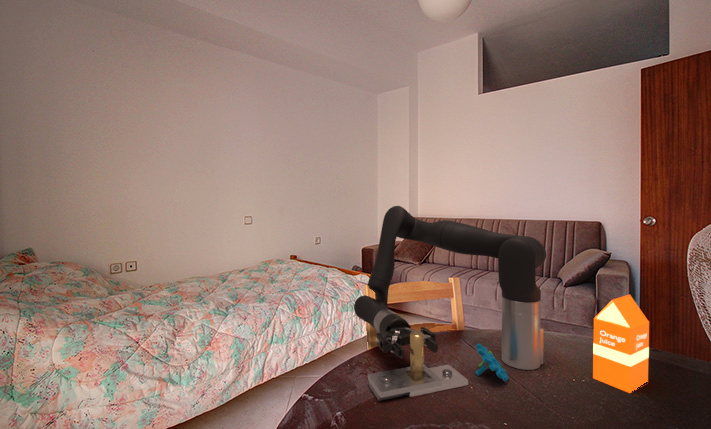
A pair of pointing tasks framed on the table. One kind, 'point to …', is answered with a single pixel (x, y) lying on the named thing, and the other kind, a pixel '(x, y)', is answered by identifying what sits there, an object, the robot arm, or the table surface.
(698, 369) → the table surface
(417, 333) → the brass pin
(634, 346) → the orange juice
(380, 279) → the robot arm
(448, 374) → the bolted metal plate
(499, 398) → the table surface
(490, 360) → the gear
